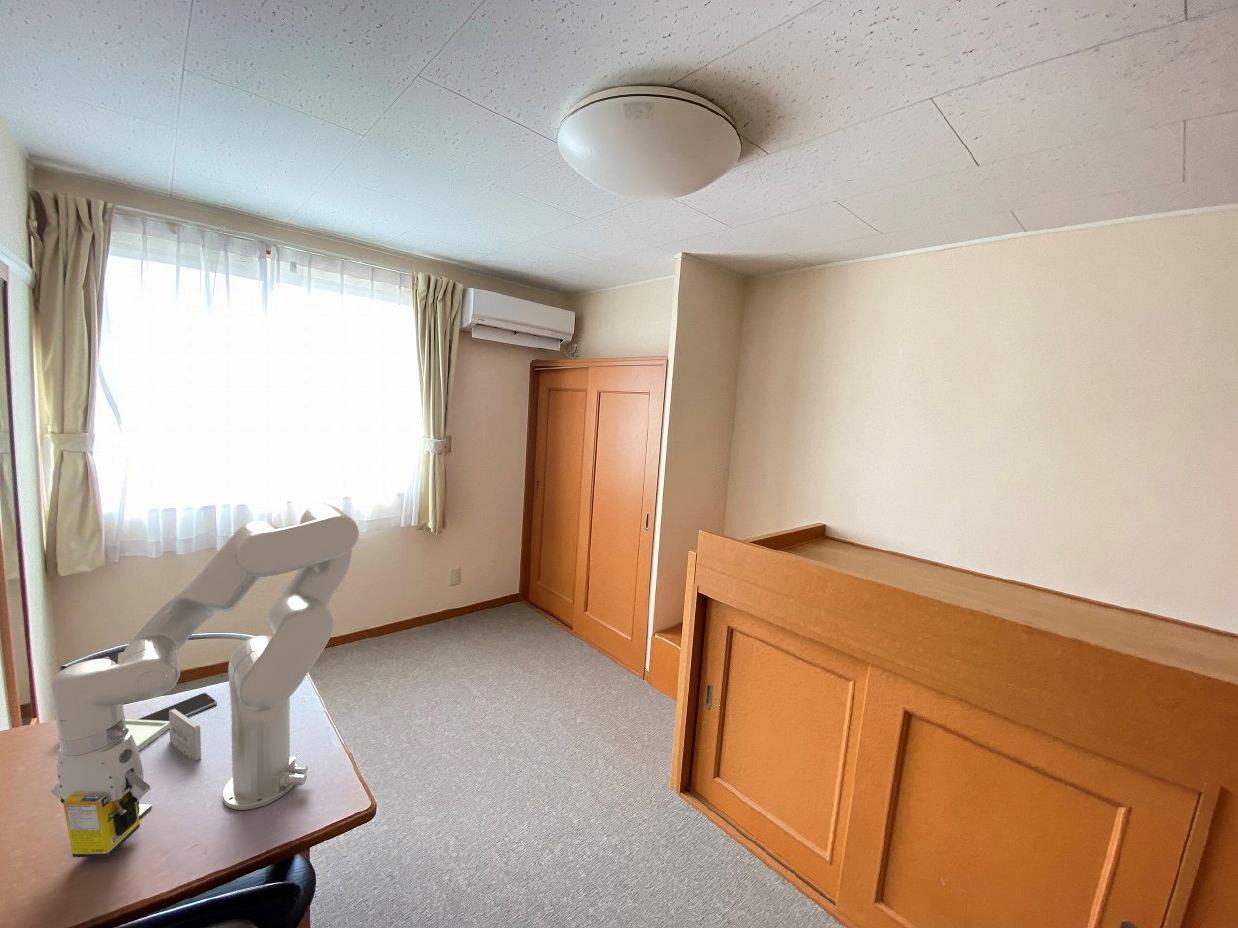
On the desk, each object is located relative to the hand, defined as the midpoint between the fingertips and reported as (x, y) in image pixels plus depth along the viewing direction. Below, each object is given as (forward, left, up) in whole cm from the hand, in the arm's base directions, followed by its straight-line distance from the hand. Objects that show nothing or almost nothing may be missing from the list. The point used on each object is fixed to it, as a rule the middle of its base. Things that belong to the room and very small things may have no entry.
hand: (106, 827), depth 85 cm
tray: (+22, -25, -4) cm, 34 cm away
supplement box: (0, 0, -3) cm, 3 cm away
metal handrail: (+8, -12, -4) cm, 15 cm away
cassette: (+7, -24, -4) cm, 25 cm away
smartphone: (+19, -35, -5) cm, 40 cm away
